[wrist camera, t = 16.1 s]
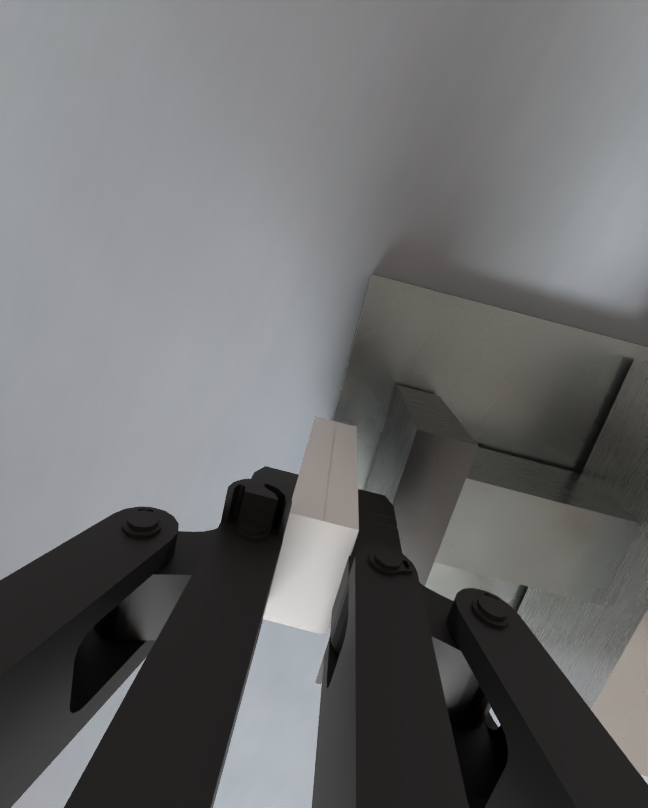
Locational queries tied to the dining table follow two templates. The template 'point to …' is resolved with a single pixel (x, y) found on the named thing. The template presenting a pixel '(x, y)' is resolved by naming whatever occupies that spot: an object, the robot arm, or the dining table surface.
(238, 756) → the dining table surface
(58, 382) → the dining table surface
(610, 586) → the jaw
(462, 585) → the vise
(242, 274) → the dining table surface
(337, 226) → the dining table surface
